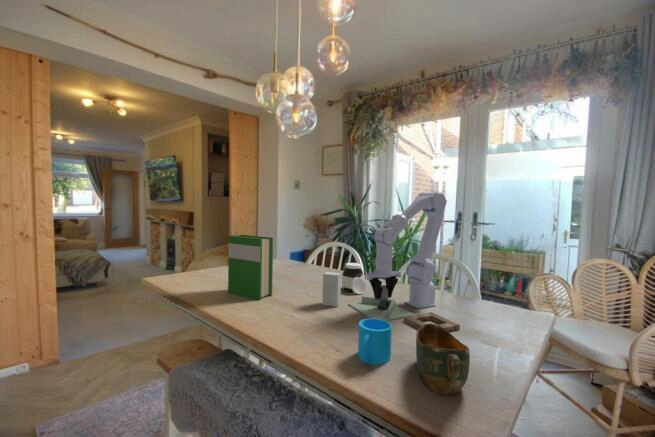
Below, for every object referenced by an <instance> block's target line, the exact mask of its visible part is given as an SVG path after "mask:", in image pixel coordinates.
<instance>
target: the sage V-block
mask: <svg viewBox="0 0 655 437" xmlns="http://www.w3.org/2000/svg"><path fill="white" fill-rule="evenodd" d="M348 306H349V307H352V308H353V309H354V310H356V311H358V312H360V313H361V314H363V315H364V316H366V317H367V318H368V319H370V318H373V319H381V320H385V321H387V322H389V321H393V320H394V321H395V320H399V319H404V317H406V316H412V315H416V314H415V313H413V312H411V311H409V310H407V309H405V308H403V307H401V306H398V305H397V304H396V300H395V299H393V298H388V309H387V310H381V309H378V308H377V299H376V298H375V297H374V296H368V295H367V296H366V295H362V296H361V301H355V302H348Z"/></svg>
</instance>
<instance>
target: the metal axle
mask: <svg viewBox="0 0 655 437" xmlns="http://www.w3.org/2000/svg"><path fill="white" fill-rule="evenodd" d="M388 296H389V286H386V284H381V288H380V298H379V299H377V308H378V309H381V310H387V309H388V299H389V297H388Z"/></svg>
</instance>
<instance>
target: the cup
mask: <svg viewBox="0 0 655 437" xmlns="http://www.w3.org/2000/svg"><path fill="white" fill-rule="evenodd" d="M438 325H439V324H435V323H425V324H424V325H422V326H421V327H420V328H419V329H417V331H416V334H415V335H416V337H415V339H416V340H415V342H416V343H415V344H416V345H415V356H416V363H417V364H416V365H417V368H418V372H419V377H420V378H421V379H420V380H421V381H422V383H423V384H424V385H425V386H426V387H427V388H428V389H430V390H431V391H434V392H435V393H438V394H439V395H442V396H443V395H444V396H455V395H458V394H460V392H461V389H462V388H463V387H464V386H465V384H466V382H467V380H468V377H469V372H470V361H471V360H470V359H471V358H470V357H471V356H470V348H469V347H468V346H467V345H465V344H464V343H462V342H461V341H460V340H458V339H457V338H456V337H455V336H454V335H453V334H452V333H451V332H448V331H447V330H445V329H444V328H442V327H440V326H438Z"/></svg>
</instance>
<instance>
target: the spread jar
mask: <svg viewBox="0 0 655 437" xmlns="http://www.w3.org/2000/svg"><path fill="white" fill-rule="evenodd" d="M361 268H362V264H361V263H358V262H357V263H356V262H348V263H347V262H346V263H345V268H344V270H343V271H342V274H341V287H342V289H343V290H345V291H346V292H350V293H354V294H356V295H362V294H364V293H365V292H366V290H367V283H366V281H365V280H364V271H363V269H361Z"/></svg>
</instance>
